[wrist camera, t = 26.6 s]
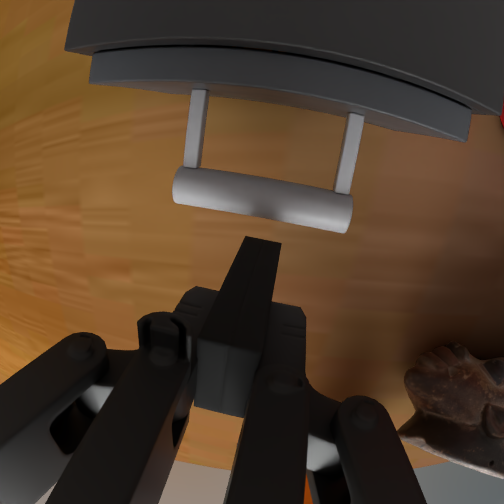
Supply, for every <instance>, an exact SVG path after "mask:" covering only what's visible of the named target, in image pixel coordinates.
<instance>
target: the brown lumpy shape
mask: <svg viewBox="0 0 504 504" xmlns="http://www.w3.org/2000/svg"><path fill="white" fill-rule="evenodd" d="M404 384H405V387H406V390H407V392H408V395H409V398H410V400H411V401H412V403H413V406H414V408H415V410H416V411H415V414H414V415H413V416H412V417H411V418H410V419H409V420H408V421H407V422H406V423H405V424H404V425H403V426H401V427H400V428H399V429H398V430H397V433H398V436H399V438H400V439H401V440H403V441H405V442H407V443H410V444H412V445H415V446H417V447H419V448H421V449H423V450H425V451H427V452H429V453H431V454H434V455H436V456H439V457H442V458H445V459H448V460H449V461H452V462H454V463H457V464H459V465H462V466H465V467H468V468H471V469H474V470H477V471H479V472H482V473H485V474H489V475H492V476H494V477H499V478H502V479H504V357H497V358H492V359H488V360H478V359H476V358H475V357H473V356H472V355H471V354H469V352H468V350H467V348H466V347H465V346H461V345H459V344H458V343H457V342H455V341H451V342H449V343H448V344H447V346H446V347H437V348H435V349H434V350H433V351H432V352H426V353H423V354H421V355H420V356H419V357H418V359H417V361H416V366H414V367H411V368H409V369H408V370H407V371H406V373H405V376H404Z"/></svg>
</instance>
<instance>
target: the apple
mask: <svg viewBox="0 0 504 504" xmlns="http://www.w3.org/2000/svg"><path fill="white" fill-rule="evenodd" d="M500 119H501V122H502V125H503V128H504V101H503V110H502V115H501V116H500Z"/></svg>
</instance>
